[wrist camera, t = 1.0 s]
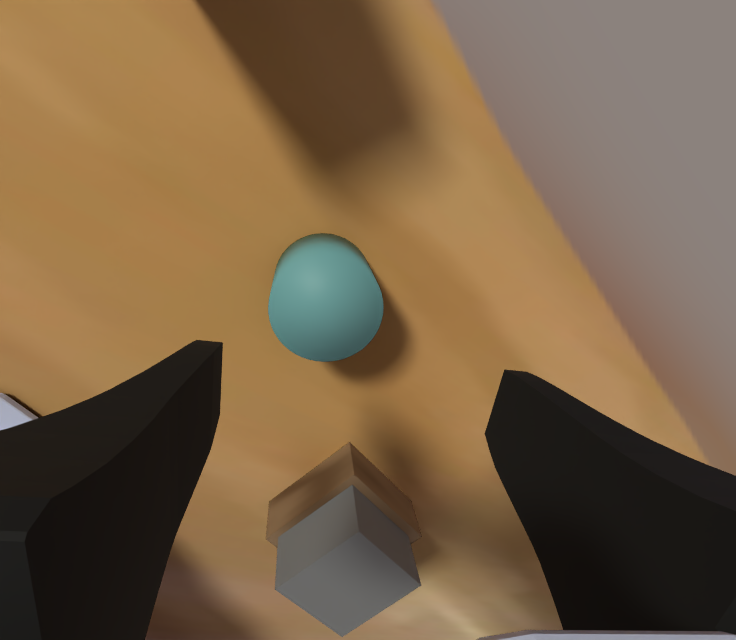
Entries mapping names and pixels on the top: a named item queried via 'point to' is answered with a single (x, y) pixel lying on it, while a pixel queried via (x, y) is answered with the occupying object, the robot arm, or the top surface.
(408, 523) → the base block
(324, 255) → the teal rounded piece
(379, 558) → the top block
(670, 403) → the top surface
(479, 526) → the top surface
